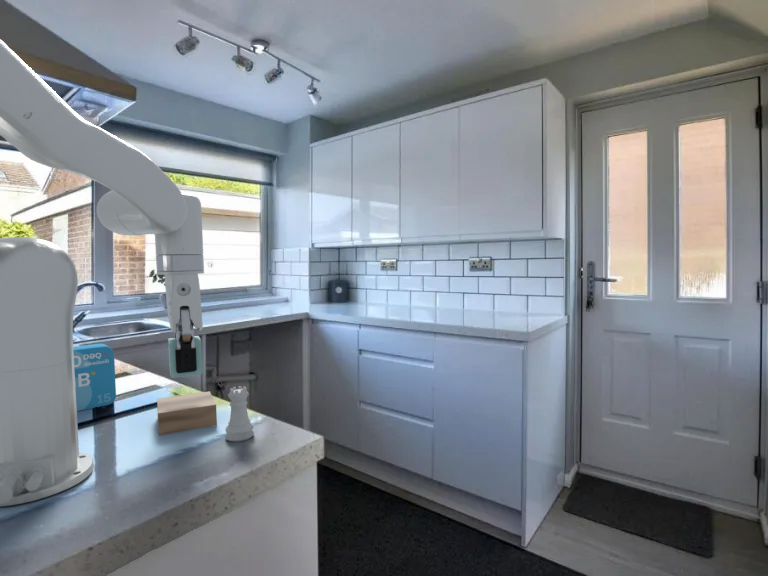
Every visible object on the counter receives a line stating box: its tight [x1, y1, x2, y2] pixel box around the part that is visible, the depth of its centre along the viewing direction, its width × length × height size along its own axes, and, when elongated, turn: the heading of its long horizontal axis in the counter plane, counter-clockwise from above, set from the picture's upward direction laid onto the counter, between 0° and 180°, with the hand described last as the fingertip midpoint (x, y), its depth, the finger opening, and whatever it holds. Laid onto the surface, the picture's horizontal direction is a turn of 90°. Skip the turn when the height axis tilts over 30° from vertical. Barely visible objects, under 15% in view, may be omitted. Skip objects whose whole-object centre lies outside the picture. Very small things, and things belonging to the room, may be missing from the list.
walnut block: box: [156, 391, 218, 436], centre depth 79 cm, size 9×9×4 cm
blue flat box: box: [73, 343, 117, 412], centre depth 87 cm, size 12×4×12 cm, turn 133°
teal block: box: [167, 335, 203, 379], centre depth 78 cm, size 5×5×6 cm
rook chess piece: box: [224, 385, 255, 443], centre depth 71 cm, size 4×4×8 cm
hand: (185, 367), depth 78 cm, fingers closed on teal block, 5 cm apart
